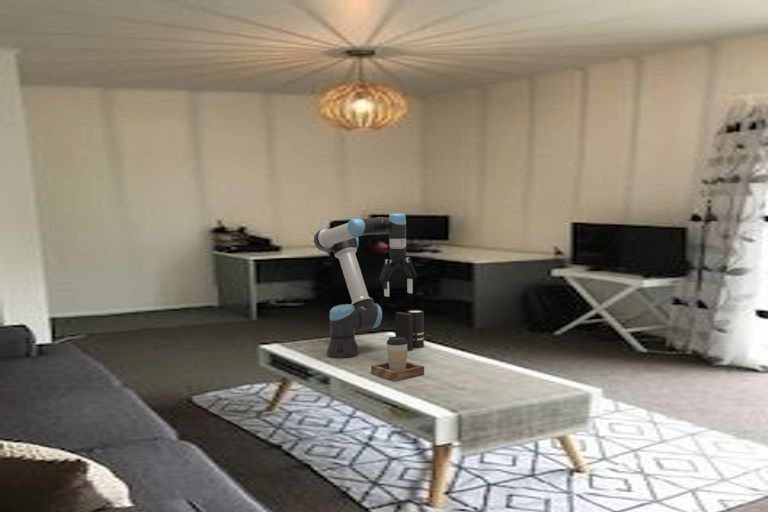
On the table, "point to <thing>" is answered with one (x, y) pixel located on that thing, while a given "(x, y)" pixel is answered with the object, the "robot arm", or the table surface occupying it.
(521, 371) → the table surface
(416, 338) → the light fixture
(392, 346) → the coffee cup
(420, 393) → the table surface
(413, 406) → the table surface
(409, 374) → the tray
